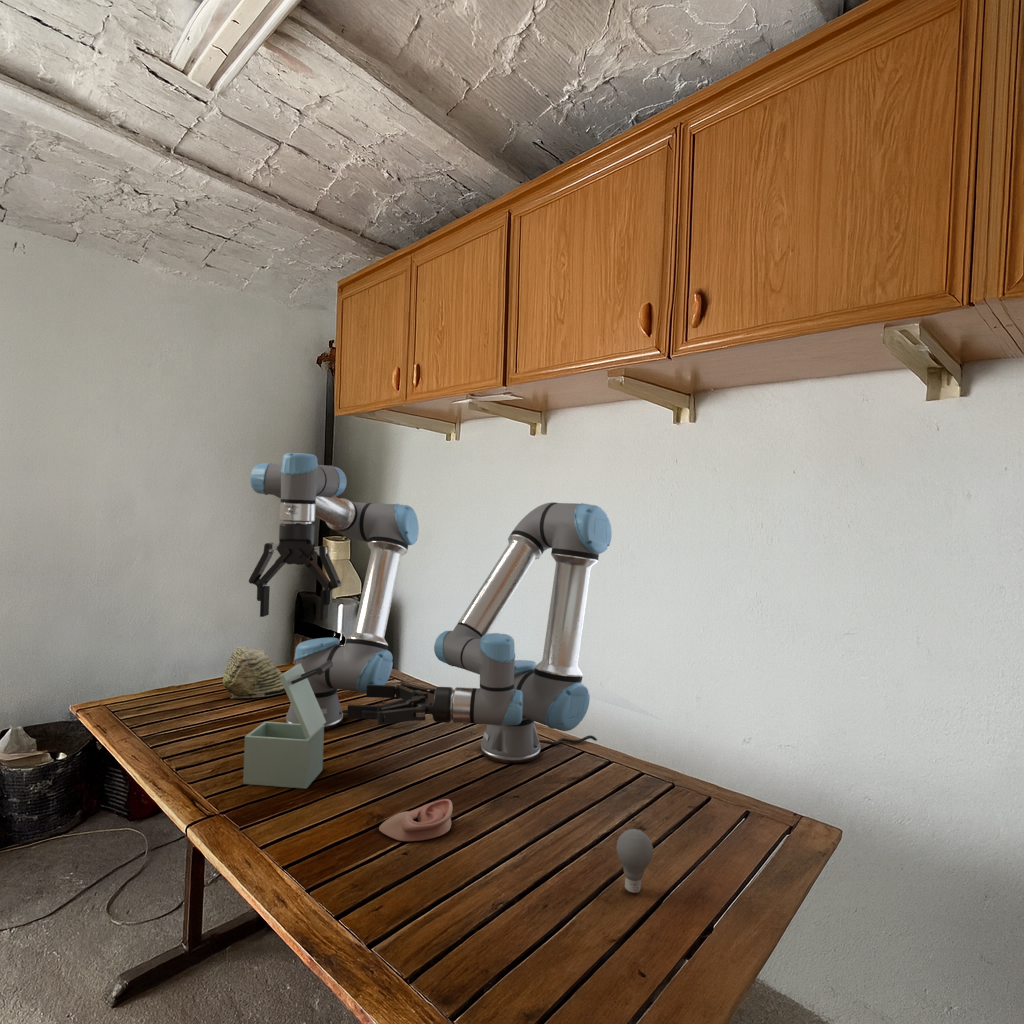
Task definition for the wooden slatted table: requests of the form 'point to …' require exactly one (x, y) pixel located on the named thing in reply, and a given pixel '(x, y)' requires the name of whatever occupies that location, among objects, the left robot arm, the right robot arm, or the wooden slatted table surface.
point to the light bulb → (634, 857)
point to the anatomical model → (420, 822)
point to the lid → (304, 697)
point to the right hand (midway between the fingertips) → (357, 700)
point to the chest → (282, 755)
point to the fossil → (251, 674)
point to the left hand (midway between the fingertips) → (293, 617)
